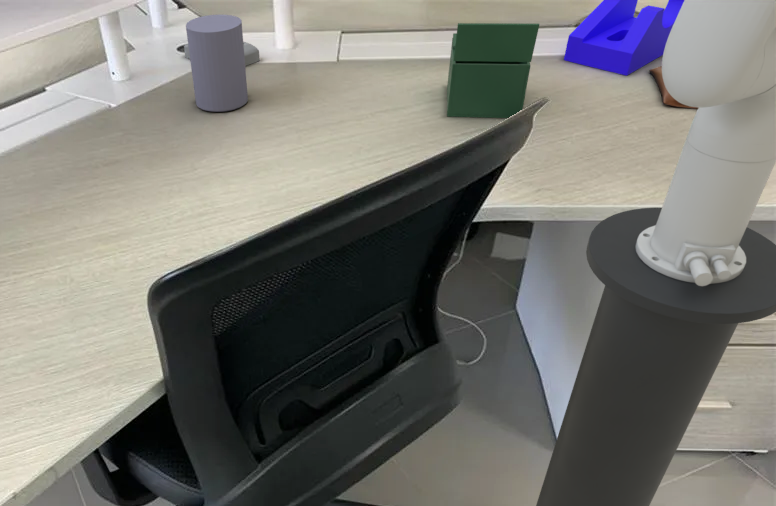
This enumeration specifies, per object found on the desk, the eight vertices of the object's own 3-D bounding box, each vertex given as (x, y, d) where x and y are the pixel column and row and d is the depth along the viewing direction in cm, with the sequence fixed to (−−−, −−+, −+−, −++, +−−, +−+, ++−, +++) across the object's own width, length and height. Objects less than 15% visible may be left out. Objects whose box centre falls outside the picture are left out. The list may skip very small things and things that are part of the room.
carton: (520, 118, 126) (531, 60, 119) (446, 116, 128) (453, 59, 122) (515, 88, 136) (524, 33, 130) (447, 87, 139) (452, 33, 132)
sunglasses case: (646, 68, 139) (674, 38, 135) (673, 87, 140) (702, 58, 136) (663, 105, 126) (694, 73, 122) (693, 125, 127) (725, 95, 123)
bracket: (614, 34, 156) (627, -17, 150) (675, 47, 148) (692, -6, 142) (563, 60, 146) (575, 6, 139) (626, 75, 138) (642, 19, 131)
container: (254, 93, 141) (248, 15, 132) (239, 114, 134) (231, 33, 124) (206, 90, 144) (196, 13, 134) (188, 111, 136) (177, 31, 127)
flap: (530, 60, 120) (531, 62, 119) (453, 59, 122) (453, 61, 122) (539, 23, 114) (539, 24, 114) (457, 23, 116) (457, 24, 116)
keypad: (216, 29, 162) (258, 43, 153) (218, 46, 164) (259, 60, 155) (183, 40, 157) (224, 55, 149) (185, 57, 160) (226, 72, 151)
